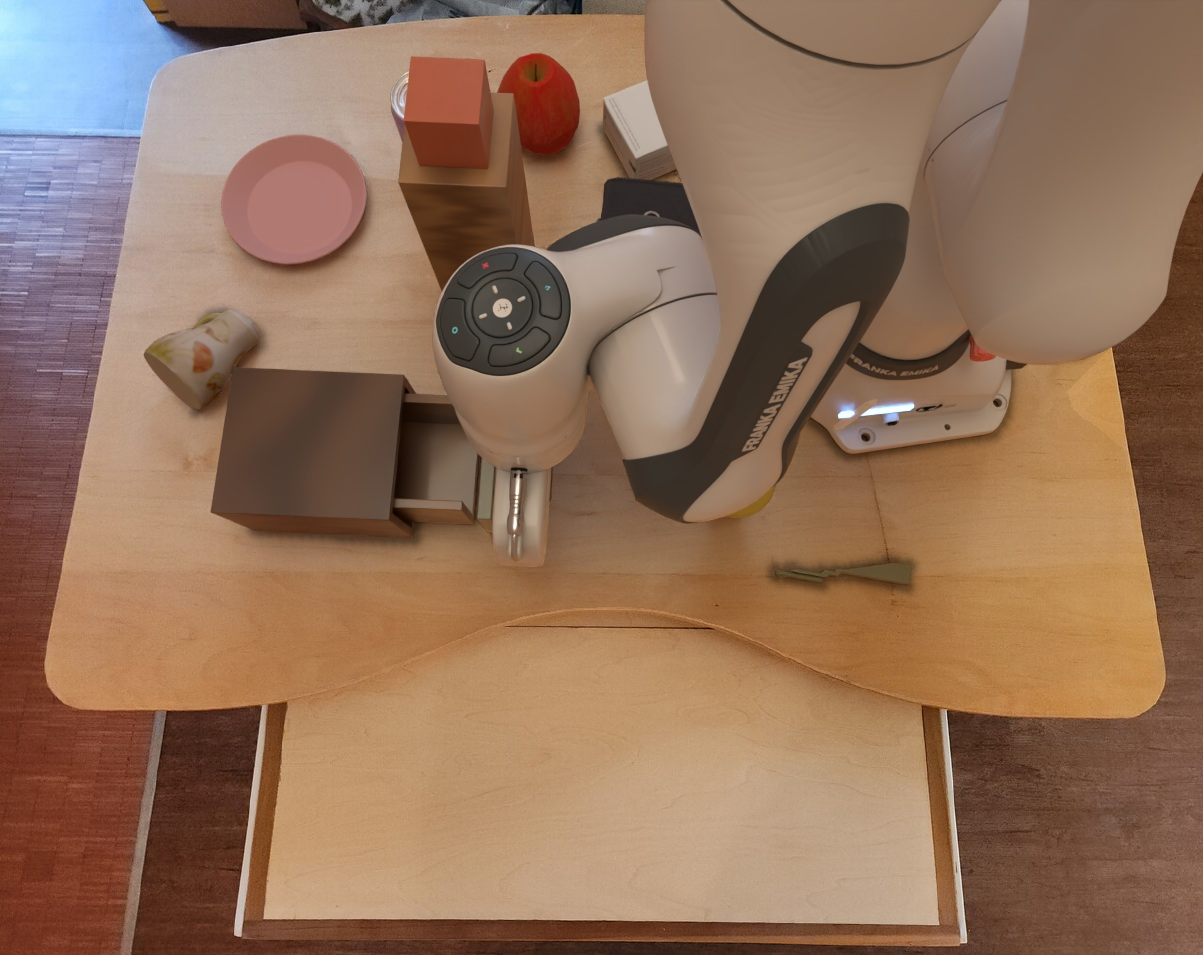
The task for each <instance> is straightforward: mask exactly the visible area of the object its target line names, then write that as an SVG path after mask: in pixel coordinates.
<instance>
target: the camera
mask: <svg viewBox="0 0 1203 955" xmlns="http://www.w3.org/2000/svg"><path fill="white" fill-rule="evenodd" d="M602 193H603V194H602V206H601V213H600V217H598V218H597V219H596V220H595V222H598V221H601V220H604V219H608V218H612V217H616V216H621V215H628V214H636V215H647V216H655V217H661V218H666V219H671V220H674V221H677V222H680V223H682V224H685V225H687V226H689V227H691V228H693V229H694V230H696V231H697V232H699V233H700V230H699V227H698V225H697V222H696V219H695V216H694V214H693V211H692V208H691V205H690V203H689V200H688V197H687V195H686V192H685V189H684V187H683V184H682V182H675V181H664V180H663V181H662V180H653V179H652V180H643V179H633V178H629V177H622V176H621V177H620V176H615V177H611V178H607V180H606V181H605V182H604V183H603V192H602ZM700 234H701V233H700Z"/></svg>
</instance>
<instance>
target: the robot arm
mask: <svg viewBox="0 0 1203 955" xmlns="http://www.w3.org/2000/svg"><path fill="white" fill-rule="evenodd" d="M643 40H644V42H643V43H644V44H643V45H644V46H643V47H644V48H643V50H644V66H645V74H646V80H647V81H648V86H649V90H650V94H651V98H652V101H653V104H654V108H655V111H656V114H657V117H658V120H659V123H660V125H661V128H662V131H663V134H664V137H665V139H666V142H667V145H668V147H669V150H670V153H671V155H672V158H673V161H674V163H675V166H676V168H677V169H676V171H677V173H678V175H679V179H680V181H681V182H680V183H682V184H683V187H684V189H685V192H686V195H687V197H688V200H689V203H690V205H691V208H692V211H693V214H694V216H695V219H696V222H697V225H698V227H699V230H700V233H701V234H700V233H699V232H697V231H696V230H694V229H693V228H691V227H689V226H687V225H685V224H682V223H680V222H677V221H674V220H671V219H666V218H661V217H655V216H647V215H636V214H628V215H621V216H616V217H612V218H608V219H604V220H601V221H598V222H596V221H595V222H592V223H589V224H587V225H585V226H582V227H580V228H578V229H576V230H574V231H571V232H570V233H568V234H566V235H564V236H563V237H561V238H558V240H556V241H554V242H553V243H551V244H550V245H549V246H548V247H547V248H546V249H544V248H541V247H537V246H535V247H533V246H528V245H503V246H498V247H494V248H491V249H488V250H486V251H483V252H480V253H478V254H476V255H475V256H473V257H471V258H470V259H468V260H467V261H466V262H464V263H463V264H462V265H461V266H460V267H459V268H458V269H457V270H456V271H455V272H454V273H453V275H452V276H451V277H450V279H449V280H448V282H447V284H446V285H445V287H444V289H443V291H441V293H440V294H439V297H438V299H437V302H436V305H435V309H434V313H433V319H432V328H431V329H432V331H431V332H432V333H431V336H432V350H433V356H434V363H435V366H436V369H437V370H436V371H437V373H438V376H439V379H440V381H441V384H442V387H443V389H444V391H445V393H446V395H447V396H448V398H449V400H450V402H451V403H452V405H453V407H454V408H455V412H456V415H457V417H458V419H459V422H460V423H461V425H462V428H463V430H464V432H465V434H466V436H467V438H468V440H469V442H470V444H471V446H472V447H473V449H474V450H475V451H476V452H477V454H478V455H479V457H480V458H483V459H484V460H485V461H486V462H488V463H490V464H491V465H493V466H495V467H496V479H495V492H494V504H493V517H492V533H491V535H492V544H493V545H492V546H493V550H494V554H495V557H496V560H497V562H498V563H499V564H500V565H502V566H508V567H509V566H510V567H526V568H539V567H542V566H543V565H544V564H545V560H546V556H547V545H548V528H549V515H550V514H549V512H550V511H549V510H550V502H549V498H550V482H551V467H553V468H554V467H555V466H556V465H559V464H560V463H561V462H562V461H564V460H565V459H566V458H568V457H569V456H570V454H571V453H572V452H574V450H575V449H576V448H577V446H578V444H579V442H580V441H581V438H582V436H583V433H584V431H585V428H586V423H587V409H588V405H587V404H588V394H589V393H590V392H589V391H590V390H591V389H593V388H594V390H595V393H596V394H597V397H598V399H599V402H600V404H601V407H602V409H603V411H604V412H603V413H604V414H605V416H606V419H607V421H608V424H609V426H610V429H611V431H612V434H613V436H614V438H615V440H616V443H617V445H618V447H619V450H620V452H621V455H622V464H623V466H624V470H625V472H626V477H627V478H628V482H629V486H630V488H631V491H632V495H633V497H634V500H635V501H636V502H637V503H639V504H641V505H642V506H644V507H645V508H648V509H649V510H652V511H653V512H655V513H656V514H659V515H660V516H663V517H666V518H668V519H670V520H672V521H675V522H678V523H680V524H684V525H688V524H689V525H692V524H698V523H701V522H709V521H713V520H717V519H721V518H725V516H727V515H730V514H732V513H735V512H737V511H739V510H741V509H743V508H745V507H747V506H749V505H750V504H752V503H754V502H755V501H757V500H758V499H759V498H761V497H762V496H763V495H764V494H766V493H767V492H768V491H769V490H770V489H771V488H772V487H773V486H775V485H776V486H777V484H778V483H779V482H780V481H781V480H782V479H783V478H784V476H785V475H786V473H787V471H788V469H789V467H790V465H791V463H792V461H793V459H794V456H795V452H796V450H797V446H798V444H799V440H800V436H801V433H802V431H803V429H804V427H805V426H806V425H807V423H808V422H809V420H810V419H813V420H814V421H815V422H817V423H818V424H820V425H821V426H823V428H825V429H826V430H827V432H828V433H829V435H830V436H831V438H832V439H833V440H834V442H835V444H836V445H837V446H838V447H839V448H840V449H841V450H842V451H844V452H845V453H847V454H851V455H854V454H855V455H856V454H863V453H869V452H876V451H884V450H889V449H896V448H903V447H911V446H917V445H924V444H931V443H938V442H944V441H951V440H958V439H965V438H972V437H978V436H986V435H988V434H992V433H993V432H995V430H997V428H998V427H999V426H1000V425H1001V423H1002V421H1003V419H1004V418H1005V415H1006V413H1007V410H1008V408H1009V403H1010V398H1011V393H1012V370H1021V369H1023V368H1024V367H1026V366H1028V365H1031V366H1033V365H1034V366H1055V365H1062V364H1068V363H1072V362H1077V361H1082V360H1084V359H1085V360H1086V359H1088V358H1091V357H1093V356H1096V355H1100V354H1101V353H1104V352H1105V351H1107V350H1109V349H1112V348H1113V347H1116V346H1117V345H1119V344H1121V342H1123V341H1125V340H1126V339H1128V338H1129V337H1130V336H1131V335H1133V334H1134V333H1135V332H1136V331H1138V330H1139V329H1140V328H1141V327H1142V326H1143V325H1144V324H1146V322H1147V321H1148V320H1149V319H1150V318H1151V317H1152V315H1154V313H1155V312H1156V311H1157V310H1158V309H1159V307H1160V306H1161V304H1162V303H1163V301H1164V300H1165V299H1166V296H1167V292H1168V286H1169V280H1170V272H1171V266H1172V262H1173V255H1174V252H1175V246H1176V243H1177V239H1178V236H1179V232H1180V228H1181V225H1182V223H1183V220H1184V217H1185V214H1186V211H1187V208H1188V207H1189V204H1190V201H1191V200H1192V197H1193V195H1194V192H1195V190H1196V187H1197V185H1198V183H1199V181H1200V179H1201V177H1202V175H1203V0H645V2H644V39H643ZM994 402H996V403H997V404H998V406H996V405H995V404H994ZM862 436H865V437H866V438H867V441H865V440H863V439H862Z"/></svg>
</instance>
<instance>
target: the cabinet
mask: <svg viewBox="0 0 1203 955" xmlns="http://www.w3.org/2000/svg"><path fill="white" fill-rule="evenodd" d="M404 393H408V394H417V393H416V391H415V389H414V388H413V386H412V385H411V383H410V381H409V380H408V378H407V377H406V375H405V374H400V373H399V374H396V373H377V372H376V373H373V372H355V371H353V372H351V371H330V370H329V371H328V370H327V371H326V370H309V369H308V370H305V369H304V370H303V369H287V368H286V369H284V368H283V369H282V368H261V367H260V368H259V367H241V366H240V367H237V366H235V367H233V370H232V374H231V376H230V383H229V390H228V396H227V402H226V408H225V416H224V423H223V428H222V435H221V442H220V448H219V454H218V462H217V467H216V473H215V474H216V475H215V479H214V487H213V492H212V493H213V494H212V499H211V500H212V501H211V507H210V513H211V514H213V515H216V516H218V517H220V518H222V519H225V520H227V521H230V522H233V523H235V524H238V525H240V526H242V527H245V528H247V529H249V530H251V531H254V532H269V533H270V532H271V533H293V534H315V535H316V534H318V535H341V536H357V537H358V536H362V537H383V538H384V537H385V538H406V539H407V538H408V539H413V538H414V531H415V530H414V529H415V522H407V521H402V520H400V519H399V518H398V517H397V516H395V515H394V514H393V513H392V510H393V500H394V491H395V481H396V471H397V461H398V452H399V442H400V432H401V423H402V413H403V403H404Z"/></svg>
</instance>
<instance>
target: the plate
mask: <svg viewBox="0 0 1203 955" xmlns="http://www.w3.org/2000/svg"><path fill="white" fill-rule="evenodd" d="M367 191H368V190H367V184H366V180H365V175H364V174H363V171H362V168H361V167H360V165H359V164H358V162H357V161H356V159H355V158H354V157H353V155H351V154H350V153H349V152H348V151H347V150H346V149H345V148H344V147H342V146H340V144H337V143H336V142H333V141H331V140H329V139H327V138H325V137H324V138H323V137H320V136H317V135H312V134H288V135H282V136H278V137H274V138H271V139H269V140H266V141H264V142H262V143H260V144H258V145H256V146H255V147H254V148H252V149H250V150H249V151H248V152H246V153H245V154H244V155H243V156H242V157H240V159H239V160H238V161H237V162H236V163H235V165H234V166H233V168H232V169H231V170H230V172H229V174H228V176H227V178H226V180H225V182H224V185H223V189H222V193H221V201H220V202H221V203H220V204H221V206H220V207H221V215H222V220H223V223H224V226H225V228H226V230H227V232H228V233H229V235H230V237H231V239H232V240H234V242H235V243H236V244H237V245H238V246H239V247H240V248H241V249H242V250H244V251H245V252H247V253H248V254H250V256H251V255H252V256H253V257H255V258H258V259H260V260H261V261H265V262H268V263H271V264H272V263H273V264H278V265H298V264H304V263H309V262H313V261H316V260H318V259H322V258H324V257H326V256H328V255H329V254H331V253H333V252H334V251H336V250H337V249H339V248H340V247H341V246H343V245H344V244H345V242H347V241H348V240H349V239H350V238H351V237H352V235H353V234H354V233H355V231H356V230H357V229H358V227H359V225H360V223H361V221H362V219H363V217H364V214H365V210H366V205H367V198H368V196H367V194H368V192H367Z"/></svg>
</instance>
